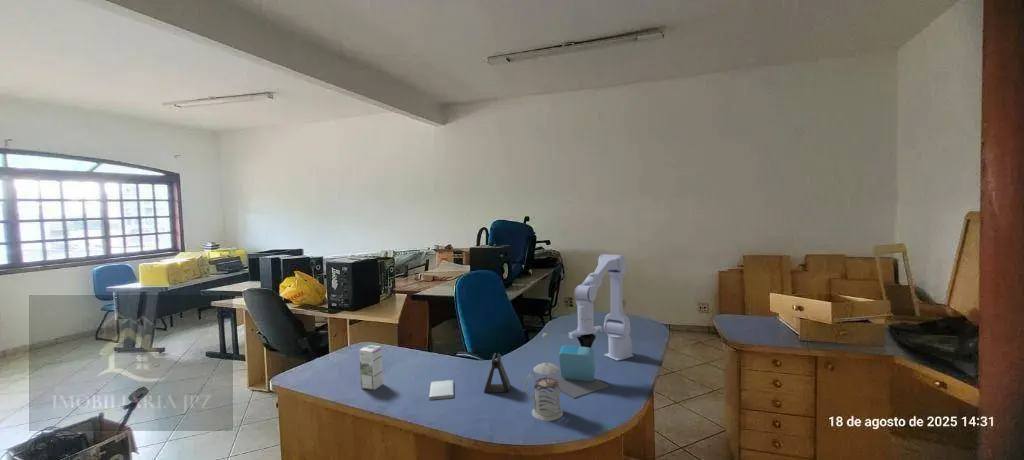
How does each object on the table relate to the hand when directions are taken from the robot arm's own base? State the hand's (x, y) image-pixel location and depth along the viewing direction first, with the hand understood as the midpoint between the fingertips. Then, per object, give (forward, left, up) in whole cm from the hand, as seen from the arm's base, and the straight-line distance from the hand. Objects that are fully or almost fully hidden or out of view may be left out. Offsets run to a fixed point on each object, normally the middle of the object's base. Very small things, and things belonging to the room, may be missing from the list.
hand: (586, 354), depth 148 cm
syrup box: (+68, -40, -10) cm, 79 cm away
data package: (+2, -2, -8) cm, 9 cm away
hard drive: (+48, -22, -10) cm, 54 cm away
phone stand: (+31, -12, -10) cm, 35 cm away
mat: (+5, 0, -9) cm, 11 cm away
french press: (+27, +11, -10) cm, 31 cm away
